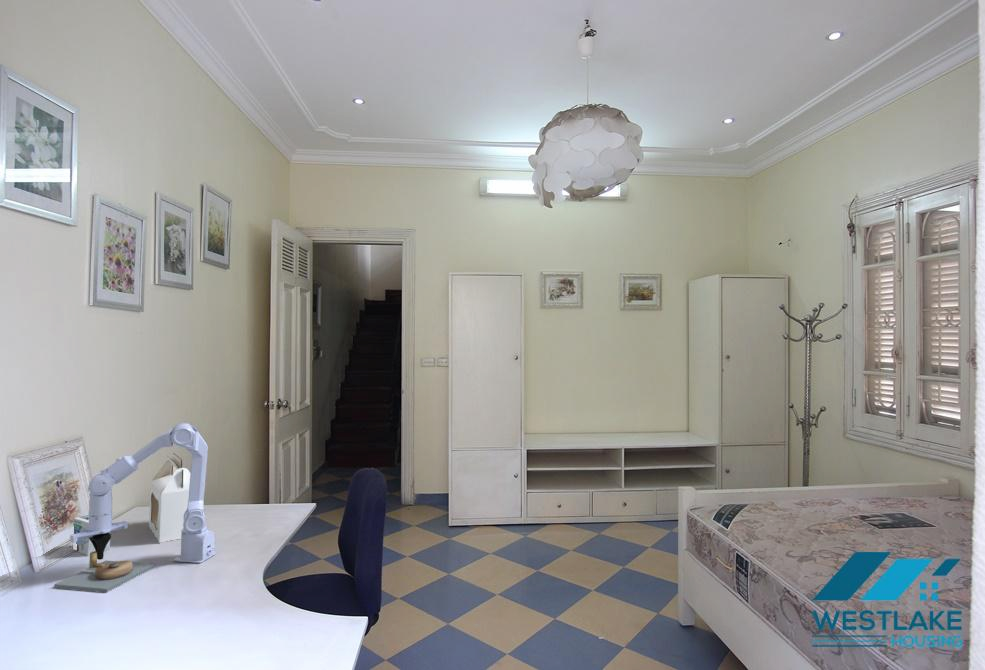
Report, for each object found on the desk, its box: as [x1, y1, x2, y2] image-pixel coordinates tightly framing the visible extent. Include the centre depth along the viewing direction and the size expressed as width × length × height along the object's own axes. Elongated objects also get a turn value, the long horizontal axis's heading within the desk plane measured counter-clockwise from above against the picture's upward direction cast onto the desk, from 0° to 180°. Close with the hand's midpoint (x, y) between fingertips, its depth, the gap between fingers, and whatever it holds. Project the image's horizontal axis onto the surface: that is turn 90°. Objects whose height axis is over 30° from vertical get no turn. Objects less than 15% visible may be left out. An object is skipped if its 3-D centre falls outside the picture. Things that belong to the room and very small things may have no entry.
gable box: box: [148, 452, 191, 544], centre depth 196 cm, size 22×13×28 cm, turn 41°
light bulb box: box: [72, 514, 111, 557], centre depth 177 cm, size 11×7×11 cm, turn 62°
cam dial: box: [88, 551, 133, 580], centre depth 157 cm, size 12×9×6 cm
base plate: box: [53, 560, 155, 593], centre depth 156 cm, size 17×17×1 cm
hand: (99, 558), depth 159 cm, fingers closed
